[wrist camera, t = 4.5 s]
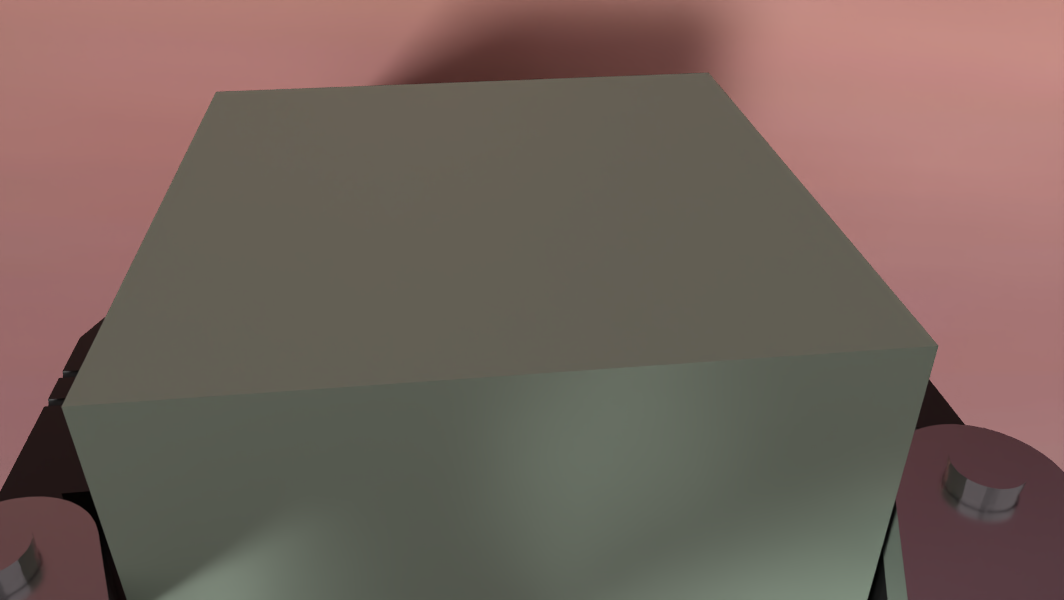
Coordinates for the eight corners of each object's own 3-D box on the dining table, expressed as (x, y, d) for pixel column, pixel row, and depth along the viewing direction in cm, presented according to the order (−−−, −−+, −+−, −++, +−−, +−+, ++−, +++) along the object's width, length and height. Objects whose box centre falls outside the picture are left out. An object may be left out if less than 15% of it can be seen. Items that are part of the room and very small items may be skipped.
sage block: (215, 90, 9) (59, 407, 5) (708, 72, 10) (937, 345, 6) (287, 470, 12) (222, 882, 8) (670, 440, 12) (807, 812, 8)
